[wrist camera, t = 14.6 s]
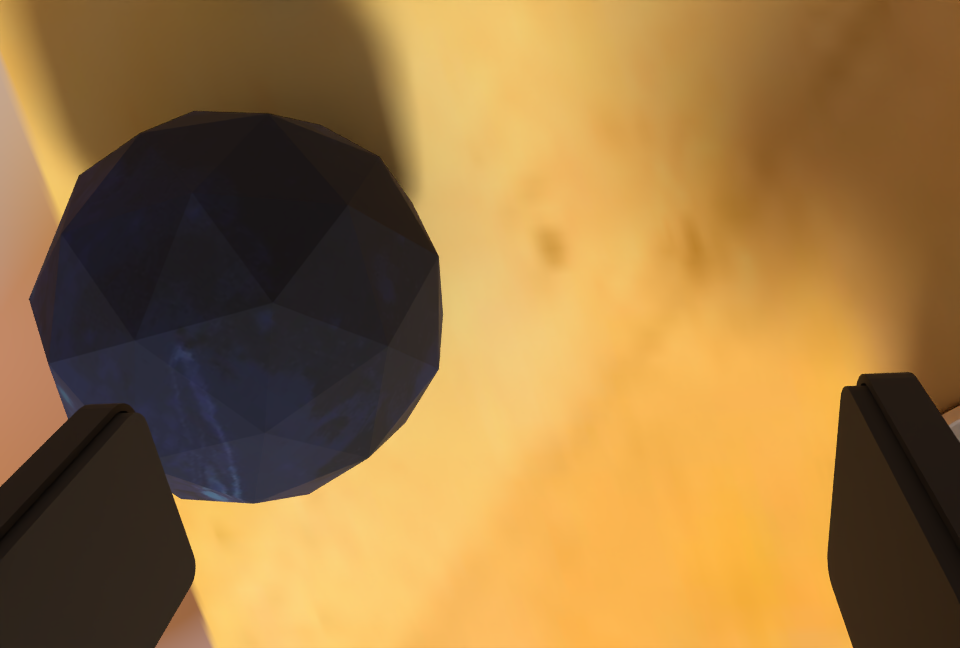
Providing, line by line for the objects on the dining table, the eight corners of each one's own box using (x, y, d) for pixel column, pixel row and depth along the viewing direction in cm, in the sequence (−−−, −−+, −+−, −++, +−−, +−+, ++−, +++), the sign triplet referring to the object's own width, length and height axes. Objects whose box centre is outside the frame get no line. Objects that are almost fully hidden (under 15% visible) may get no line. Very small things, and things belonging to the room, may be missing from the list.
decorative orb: (274, 528, 39) (326, 646, 25) (-15, 333, 35) (-149, 341, 21) (452, 290, 42) (589, 274, 28) (204, 84, 38) (216, -57, 24)
